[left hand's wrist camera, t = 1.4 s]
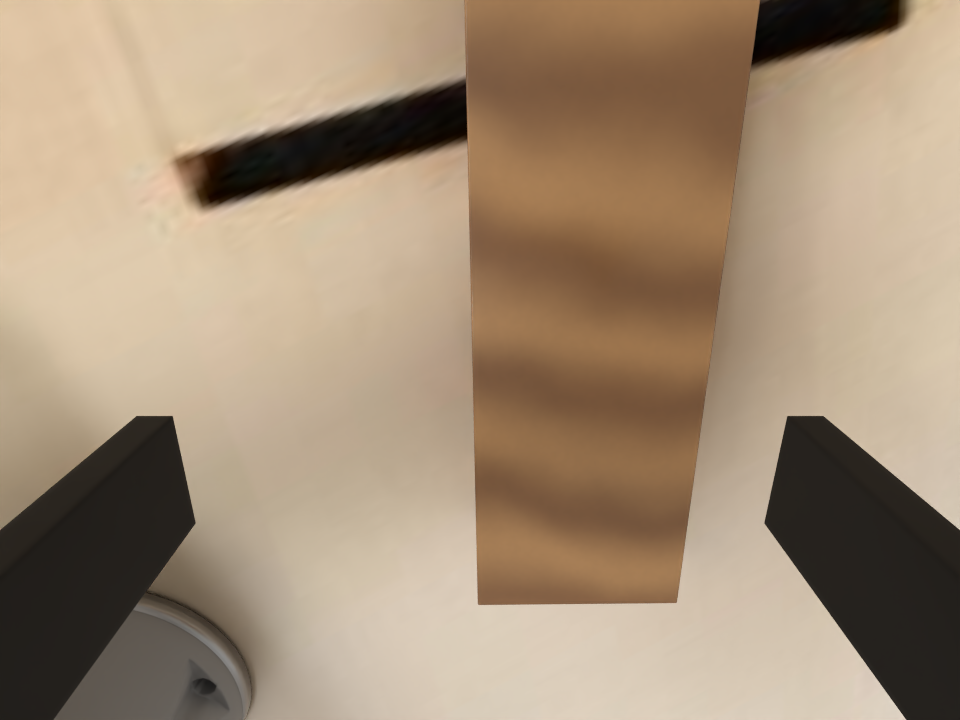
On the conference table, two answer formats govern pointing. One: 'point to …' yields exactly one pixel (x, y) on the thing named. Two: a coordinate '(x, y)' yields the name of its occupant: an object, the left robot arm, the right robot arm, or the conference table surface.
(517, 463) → the striped wooden beam
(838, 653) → the conference table surface
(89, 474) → the left robot arm
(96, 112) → the conference table surface
